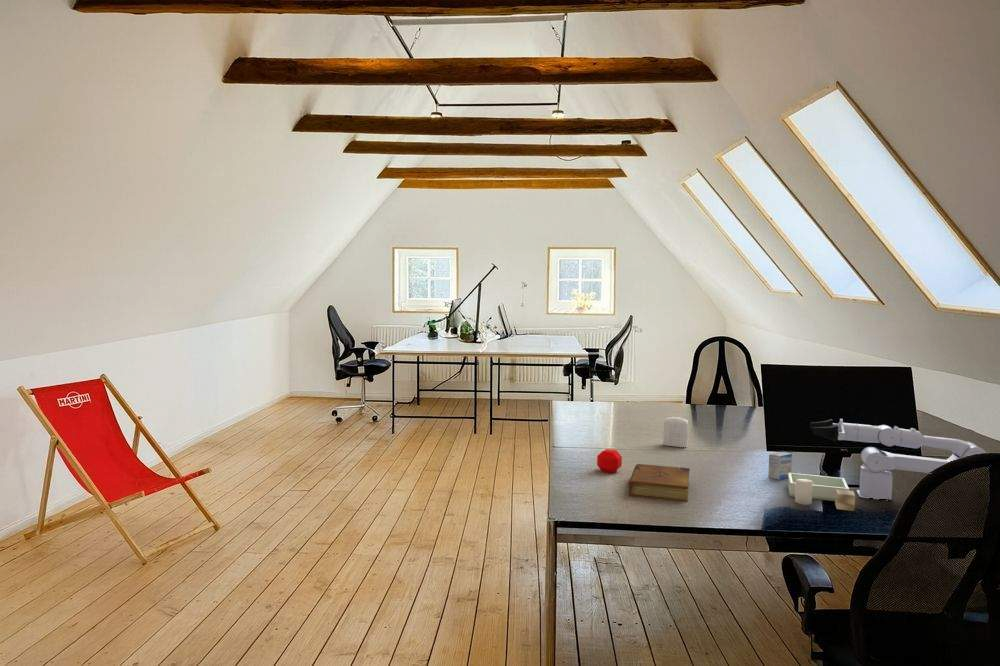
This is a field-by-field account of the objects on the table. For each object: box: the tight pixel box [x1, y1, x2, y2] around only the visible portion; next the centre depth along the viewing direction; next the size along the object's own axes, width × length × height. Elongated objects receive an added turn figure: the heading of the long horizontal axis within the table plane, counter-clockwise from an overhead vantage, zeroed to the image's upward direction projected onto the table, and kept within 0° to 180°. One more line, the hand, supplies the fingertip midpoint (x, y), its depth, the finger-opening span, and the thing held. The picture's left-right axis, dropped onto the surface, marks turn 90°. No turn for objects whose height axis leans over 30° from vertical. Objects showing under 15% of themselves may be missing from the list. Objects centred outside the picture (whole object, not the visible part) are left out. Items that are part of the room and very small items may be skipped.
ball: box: [596, 448, 623, 474], centre depth 269 cm, size 8×8×8 cm
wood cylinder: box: [794, 479, 813, 506], centre depth 236 cm, size 5×5×7 cm
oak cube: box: [834, 489, 856, 512], centre depth 231 cm, size 5×5×5 cm
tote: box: [787, 472, 850, 502], centre depth 246 cm, size 18×14×4 cm
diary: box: [627, 463, 691, 503], centre depth 248 cm, size 23×19×6 cm
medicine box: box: [767, 451, 793, 481], centre depth 265 cm, size 8×4×9 cm, turn 126°
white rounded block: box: [662, 416, 690, 449], centre depth 311 cm, size 10×4×12 cm, turn 67°
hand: (811, 428), depth 248 cm, fingers open, 7 cm apart
